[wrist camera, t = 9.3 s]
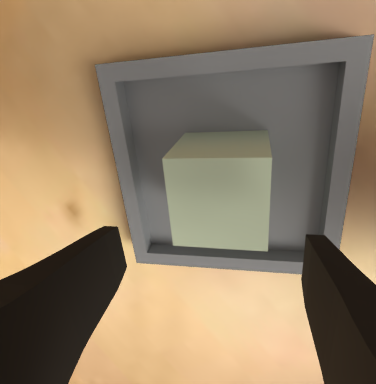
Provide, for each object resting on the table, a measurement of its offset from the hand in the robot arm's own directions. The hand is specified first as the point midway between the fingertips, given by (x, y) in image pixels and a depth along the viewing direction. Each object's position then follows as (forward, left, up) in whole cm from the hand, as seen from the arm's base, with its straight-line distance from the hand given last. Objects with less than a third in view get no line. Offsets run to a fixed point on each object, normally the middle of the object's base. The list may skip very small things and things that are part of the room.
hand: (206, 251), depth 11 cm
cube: (0, 0, -8) cm, 9 cm away
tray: (0, 0, -9) cm, 9 cm away
